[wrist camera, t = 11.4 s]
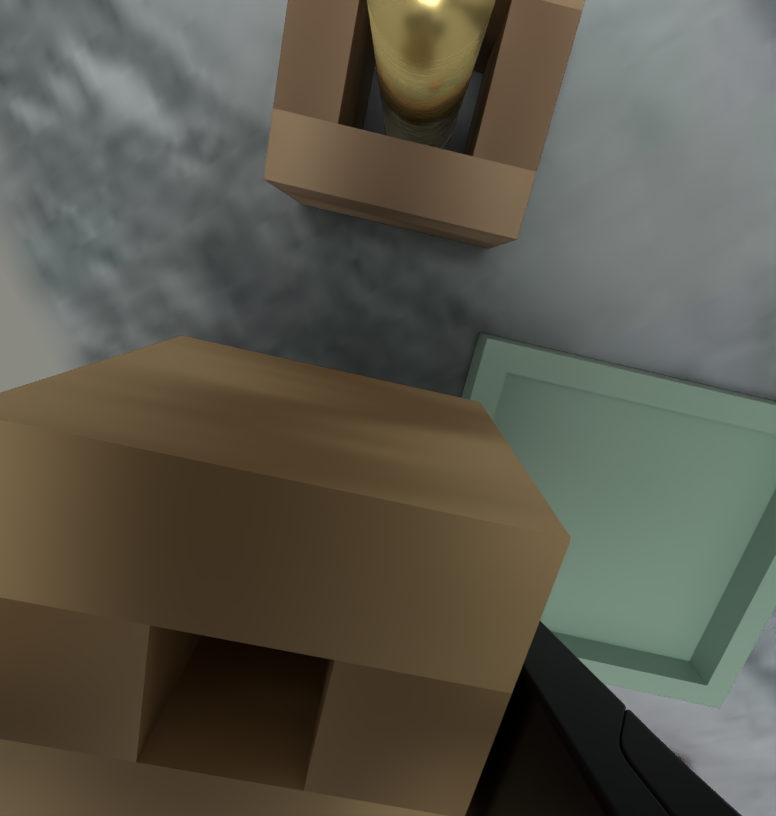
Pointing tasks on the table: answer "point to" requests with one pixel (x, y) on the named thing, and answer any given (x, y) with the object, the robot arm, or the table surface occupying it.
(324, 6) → the walnut block
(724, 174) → the table surface
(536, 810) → the robot arm
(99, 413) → the oak block
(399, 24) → the brass pin
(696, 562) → the green tray
